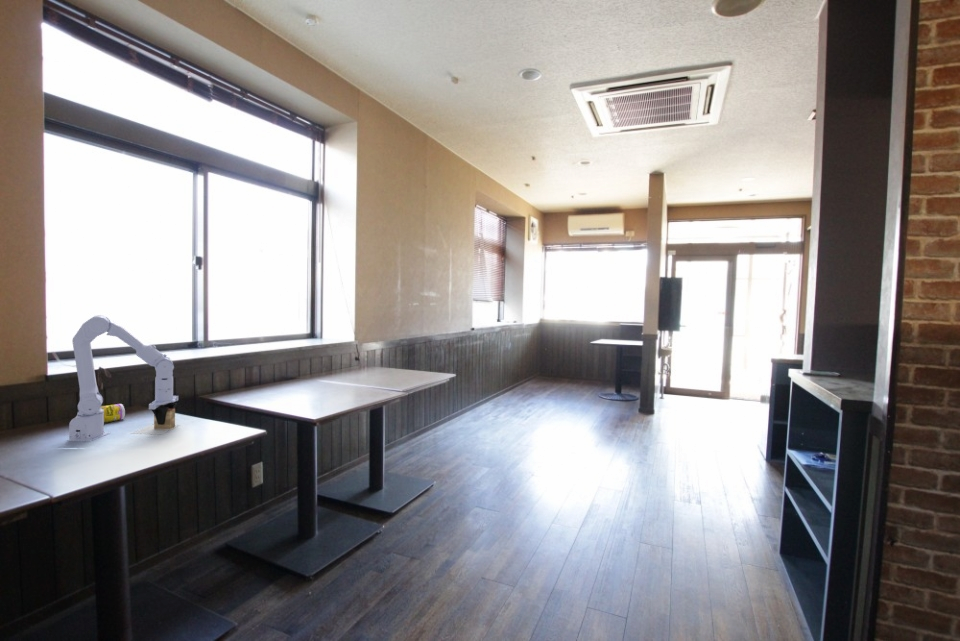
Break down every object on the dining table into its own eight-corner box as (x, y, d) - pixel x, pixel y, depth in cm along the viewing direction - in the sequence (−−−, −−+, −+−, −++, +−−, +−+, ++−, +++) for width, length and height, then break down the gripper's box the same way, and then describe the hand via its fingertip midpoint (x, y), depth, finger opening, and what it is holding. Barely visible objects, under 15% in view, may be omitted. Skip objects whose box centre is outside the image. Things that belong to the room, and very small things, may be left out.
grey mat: (160, 435, 166) (161, 434, 166) (130, 434, 166) (130, 433, 166) (180, 426, 178) (180, 425, 178) (152, 425, 178) (152, 424, 178)
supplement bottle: (126, 414, 181) (86, 421, 170) (122, 422, 184) (81, 429, 173) (122, 400, 183) (82, 406, 172) (118, 408, 186) (78, 414, 175)
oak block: (170, 429, 173) (170, 410, 172) (154, 428, 172) (154, 410, 172) (174, 426, 176) (175, 408, 175) (159, 426, 175) (159, 408, 175)
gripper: (162, 393, 166) (162, 428, 167) (186, 385, 181) (185, 418, 181) (143, 392, 166) (142, 428, 167) (168, 384, 180) (167, 417, 181)
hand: (164, 423), depth 174 cm, fingers closed on oak block, 3 cm apart
